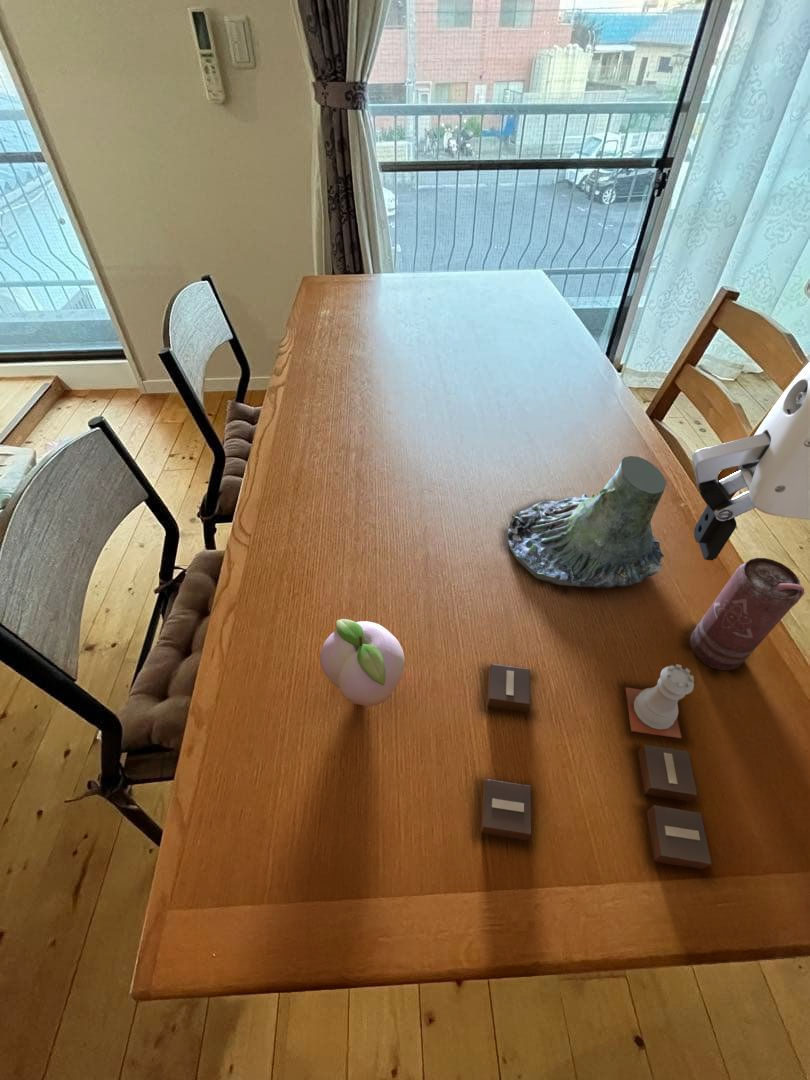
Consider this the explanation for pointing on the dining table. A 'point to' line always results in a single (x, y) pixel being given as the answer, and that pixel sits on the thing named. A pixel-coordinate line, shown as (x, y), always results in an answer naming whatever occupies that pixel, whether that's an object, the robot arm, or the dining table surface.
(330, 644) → the decorative fruit
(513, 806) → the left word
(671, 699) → the rook chess piece
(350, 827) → the dining table surface
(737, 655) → the can
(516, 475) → the dining table surface
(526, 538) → the tree stump
